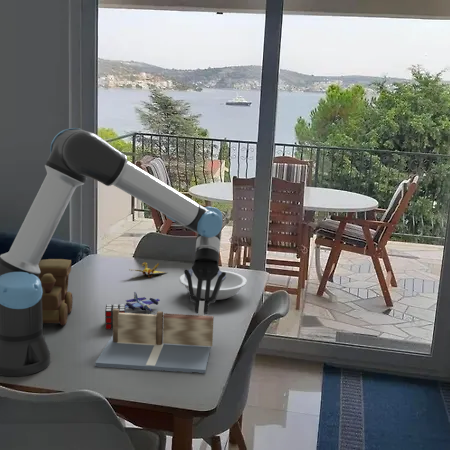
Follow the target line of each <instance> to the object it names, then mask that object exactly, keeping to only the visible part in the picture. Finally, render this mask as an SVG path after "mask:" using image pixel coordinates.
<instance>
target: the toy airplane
mask: <svg viewBox="0 0 450 450" xmlns="http://www.w3.org/2000/svg"><path fill="white" fill-rule="evenodd" d="M133 293H134V294H133V298H131V299H130V298H129V299H125V302H126V303H125V305H126V308H128V309H130V310H132V311H134V310H135V308H139V310H141V311H144V312H147V311H148V312H147V314H151V313H150V312H152V313H154V310H153V309H151V307H150V305H153V304H154V305H156V306H157V305H159V302H160V301H161V300H160V299H159V298H153V297H150V298H149V299H147V298H146V297H145V296H144V297H139V296H138V294H137V292H136V291H133Z"/></svg>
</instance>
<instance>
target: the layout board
mask: <svg viewBox="0 0 450 450" xmlns="http://www.w3.org/2000/svg"><path fill="white" fill-rule="evenodd" d="M211 347H212V346H197V345H181V344H165V343H163V344H162V345H157V344H144V343H128V342H113V334H112V336H111V337H110V339H109V340H108V341H107V343H106V345H105V347H104V348H103V350H102V351H101V353H100V355H99V356H98V358H97V359H96V361H95V363H94V365H95V367H101V368H102V367H104V368H118V369H133V370H135V369H136V370H147V371H148V370H149V371H151V370H152V371H161V370H162V372H165V371H166V372H177V371H183V372H182V373H192V372H199V373H198V374H206V372H207V366H208V363H207V362H208V361H209V356H210V354H211V353H210V352H211ZM163 370H165V371H163Z"/></svg>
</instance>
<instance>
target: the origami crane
mask: <svg viewBox="0 0 450 450" xmlns="http://www.w3.org/2000/svg"><path fill="white" fill-rule="evenodd" d="M159 265H160V263H159V262H157V264H154V266H153V267H152V269H151V268H150V267H149V268H148V263H147V262H146V261H145V262H143V263H141V266H142V267H144V269H143V270H141V269H134V271H136V272H141V273H142V275H143V276H144V275H145V276H147V275H148V276H147V277H148V278H152V277H153V274H157V273H158V274H159V273H160V274H162V273H164V274H167V272H165V271H159V270H157V268H158V267H159ZM128 271H133V269H131V268H129V269H128ZM150 274H151V275H150Z"/></svg>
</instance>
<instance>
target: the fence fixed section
mask: <svg viewBox="0 0 450 450" xmlns="http://www.w3.org/2000/svg"><path fill="white" fill-rule="evenodd" d="M163 315H164V311H161V310H160V311H157V312H156V314H151V313H150V314H148V313H135V312H134V313H133V312H126V313H119V309H113V329H112V335H113V342H128V343H144V344H157V345H162V344H163Z"/></svg>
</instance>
